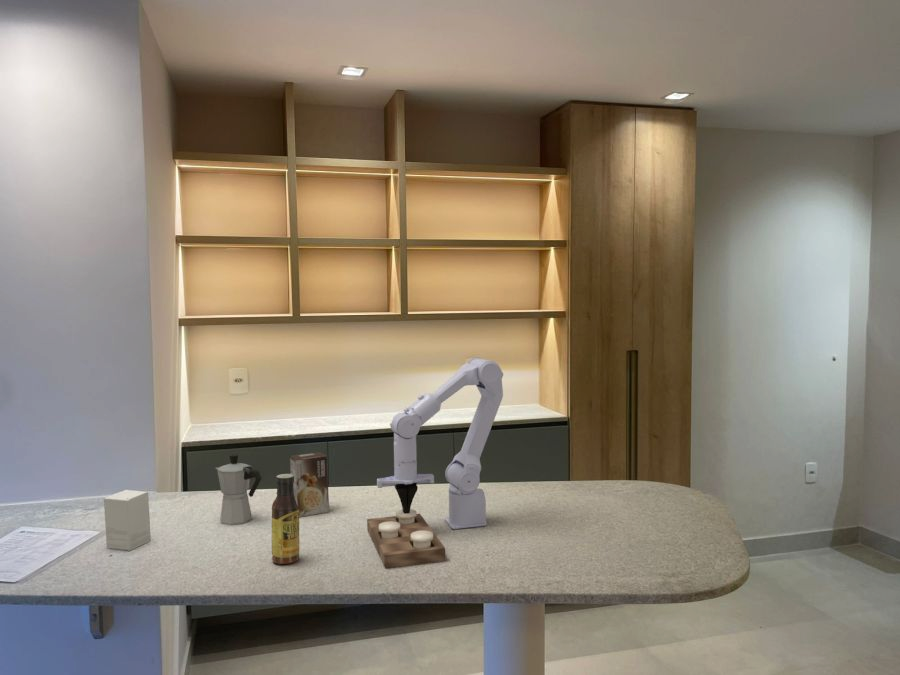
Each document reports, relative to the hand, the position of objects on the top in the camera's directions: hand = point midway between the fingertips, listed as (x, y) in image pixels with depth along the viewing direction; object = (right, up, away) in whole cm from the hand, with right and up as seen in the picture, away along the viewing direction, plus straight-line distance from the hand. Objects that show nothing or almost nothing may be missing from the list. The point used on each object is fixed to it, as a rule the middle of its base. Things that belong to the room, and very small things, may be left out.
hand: (406, 512), depth 176 cm
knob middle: (-3, -6, -9) cm, 12 cm away
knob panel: (0, -6, -8) cm, 10 cm away
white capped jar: (0, -5, 0) cm, 5 cm away
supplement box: (-68, -7, -6) cm, 69 cm away
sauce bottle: (-27, -7, -17) cm, 32 cm away
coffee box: (-28, -4, +17) cm, 33 cm away
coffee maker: (-46, -5, +11) cm, 47 cm away
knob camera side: (+5, -6, -16) cm, 18 cm away
